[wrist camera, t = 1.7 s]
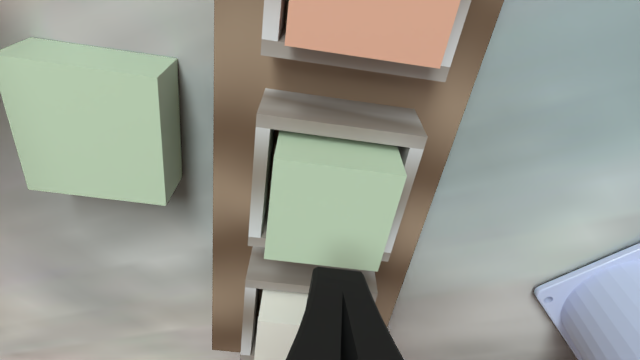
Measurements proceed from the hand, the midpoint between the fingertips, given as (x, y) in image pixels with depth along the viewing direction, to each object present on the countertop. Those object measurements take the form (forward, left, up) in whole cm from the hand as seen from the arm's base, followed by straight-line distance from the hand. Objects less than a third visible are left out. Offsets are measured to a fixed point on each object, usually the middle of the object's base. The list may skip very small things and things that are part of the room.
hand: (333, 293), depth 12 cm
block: (+7, +7, -9) cm, 14 cm away
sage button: (0, 0, -6) cm, 6 cm away
